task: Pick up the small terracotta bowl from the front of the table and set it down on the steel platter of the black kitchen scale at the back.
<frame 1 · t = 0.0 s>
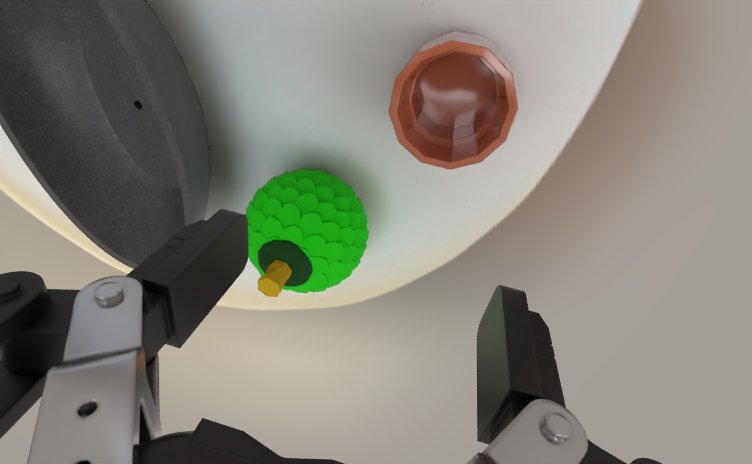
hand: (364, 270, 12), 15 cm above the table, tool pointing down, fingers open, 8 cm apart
small bowl: (455, 88, 23), on the table
ornament: (327, 200, 29), on the table
bowl: (155, 98, 28), on the table
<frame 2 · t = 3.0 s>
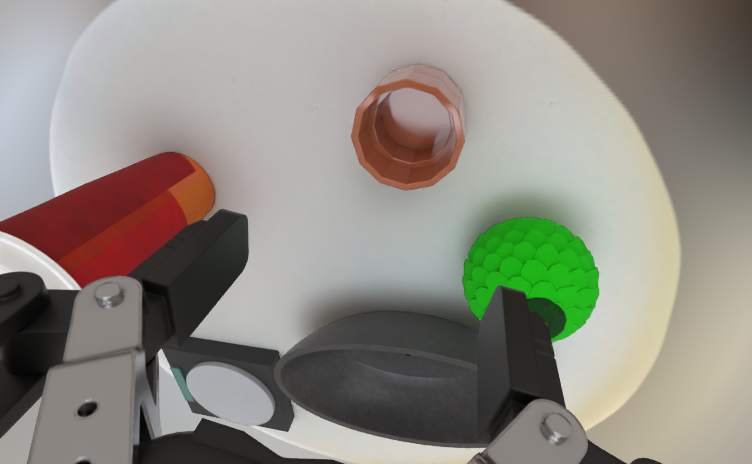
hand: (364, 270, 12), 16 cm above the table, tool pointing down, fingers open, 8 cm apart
coffee cup: (184, 185, 32), on the table
small bowl: (417, 113, 25), on the table
ornament: (520, 243, 29), on the table
scale: (236, 377, 46), on the table
bowl: (410, 339, 36), on the table
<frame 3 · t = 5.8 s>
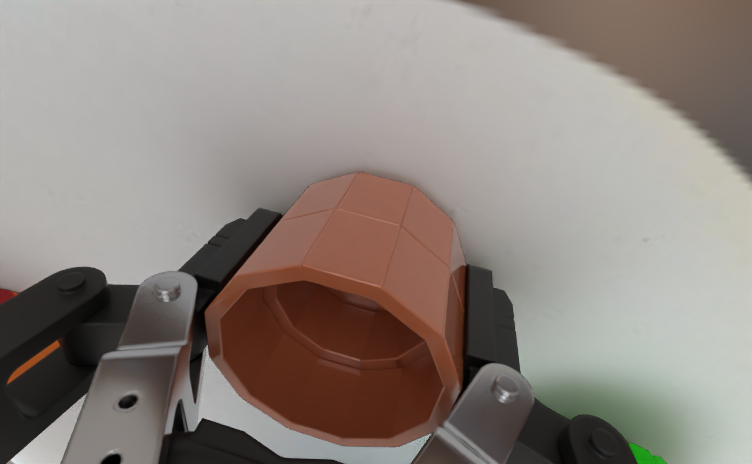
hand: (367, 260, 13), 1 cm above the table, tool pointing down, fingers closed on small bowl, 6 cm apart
coffee cup: (35, 328, 21), on the table
small bowl: (372, 250, 13), on the table, touching gripper
ornament: (573, 439, 16), on the table
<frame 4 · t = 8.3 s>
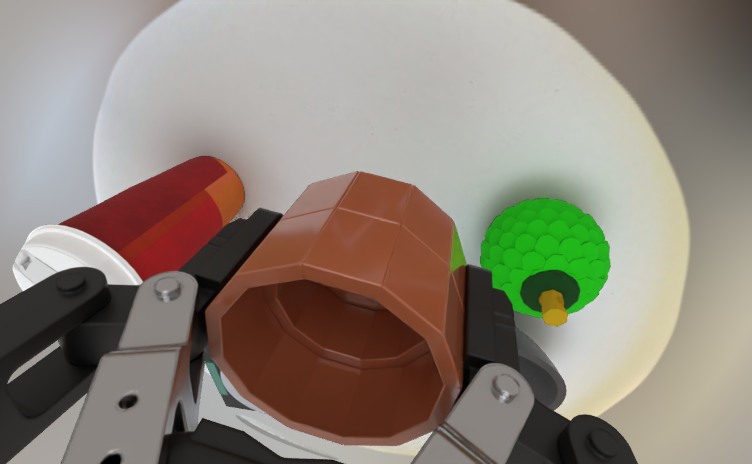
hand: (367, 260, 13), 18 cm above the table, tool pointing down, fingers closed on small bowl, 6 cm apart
coffee cup: (216, 186, 35), on the table
small bowl: (373, 249, 13), point 17 cm above the table, touching gripper
ornament: (533, 225, 30), on the table
scale: (266, 370, 48), on the table
bowl: (432, 324, 38), on the table
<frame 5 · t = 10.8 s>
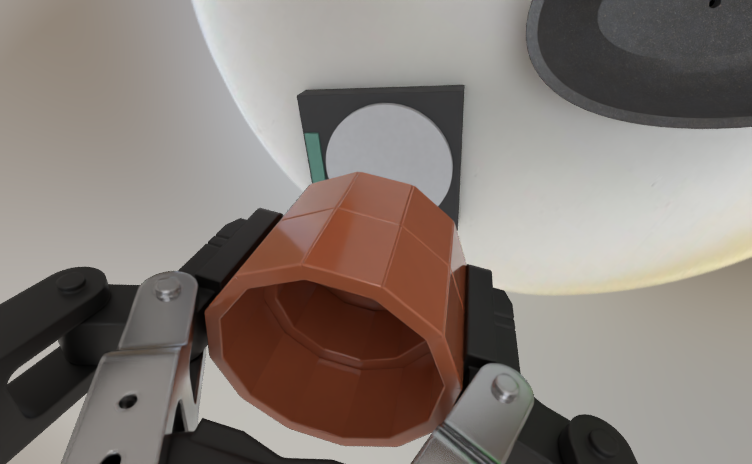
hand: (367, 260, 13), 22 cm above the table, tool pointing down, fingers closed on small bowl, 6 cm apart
small bowl: (373, 249, 13), point 21 cm above the table, touching gripper
scale: (385, 158, 34), on the table
bowl: (700, 1, 24), on the table
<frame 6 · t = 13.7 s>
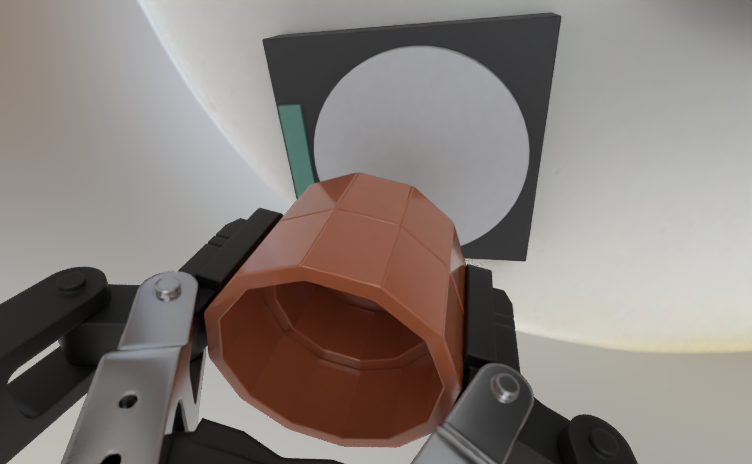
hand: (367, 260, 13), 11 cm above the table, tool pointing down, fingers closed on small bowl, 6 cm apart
small bowl: (372, 250, 13), point 10 cm above the table, touching gripper
scale: (410, 146, 21), on the table
when the fingers open (3 cm above the table, at t = 16.0 s): small bowl stays where it is, resting on scale.
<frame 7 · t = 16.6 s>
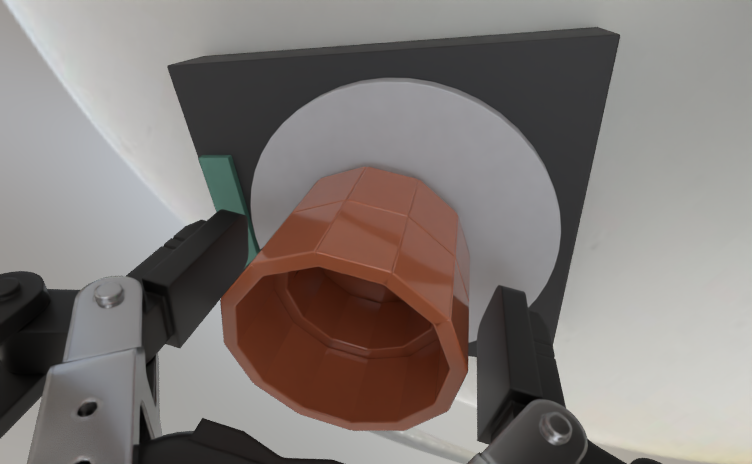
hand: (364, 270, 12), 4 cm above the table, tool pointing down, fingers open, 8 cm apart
small bowl: (379, 243, 13), point 3 cm above the table, touching scale
scale: (390, 207, 16), on the table
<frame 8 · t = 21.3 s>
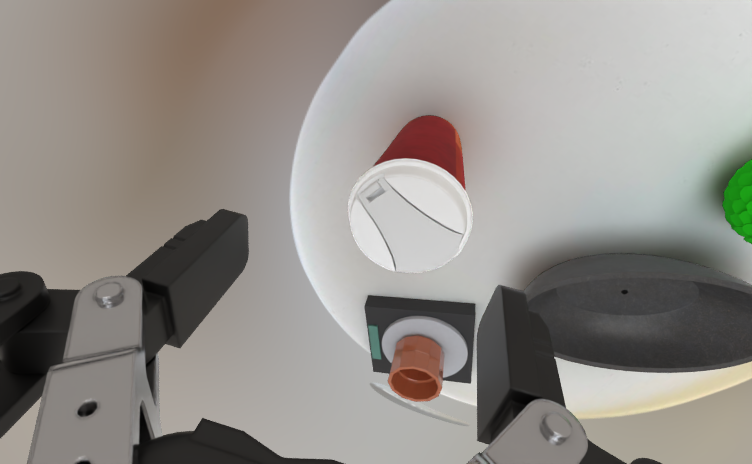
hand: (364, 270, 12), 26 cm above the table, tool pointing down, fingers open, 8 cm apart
coffee cup: (429, 146, 37), on the table
small bowl: (419, 350, 48), point 3 cm above the table, touching scale
scale: (421, 334, 50), on the table
bowl: (618, 281, 40), on the table
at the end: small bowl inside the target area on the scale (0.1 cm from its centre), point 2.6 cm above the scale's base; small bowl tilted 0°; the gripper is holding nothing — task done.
